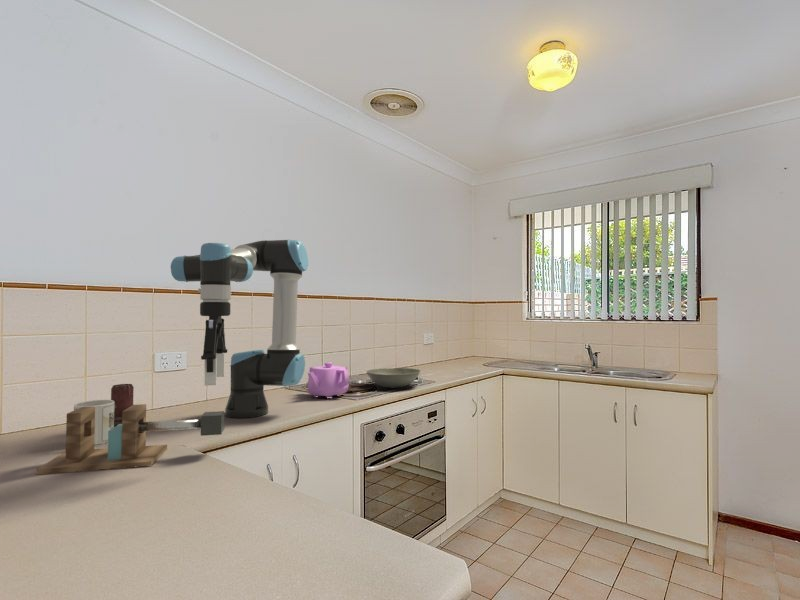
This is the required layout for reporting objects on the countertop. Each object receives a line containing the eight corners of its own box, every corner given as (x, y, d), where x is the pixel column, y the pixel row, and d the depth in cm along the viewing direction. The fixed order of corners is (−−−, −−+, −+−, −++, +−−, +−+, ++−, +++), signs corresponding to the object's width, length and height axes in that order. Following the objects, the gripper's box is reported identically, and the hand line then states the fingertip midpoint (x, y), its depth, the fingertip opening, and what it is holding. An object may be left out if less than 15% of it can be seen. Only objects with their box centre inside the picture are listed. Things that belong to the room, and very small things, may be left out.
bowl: (426, 383, 235) (426, 368, 235) (412, 393, 208) (412, 375, 208) (377, 381, 242) (377, 366, 243) (358, 390, 216) (358, 372, 216)
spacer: (131, 450, 117) (131, 423, 117) (121, 458, 110) (121, 430, 110) (118, 451, 116) (119, 424, 116) (107, 459, 109) (108, 431, 109)
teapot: (307, 401, 188) (308, 365, 188) (305, 393, 206) (305, 360, 206) (352, 399, 193) (353, 364, 193) (346, 391, 211) (347, 359, 211)
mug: (123, 438, 132) (124, 401, 132) (83, 450, 121) (84, 409, 121) (98, 435, 135) (98, 398, 136) (56, 446, 124) (57, 406, 124)
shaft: (224, 429, 121) (224, 411, 121) (221, 434, 116) (221, 415, 116) (138, 434, 116) (138, 415, 116) (131, 439, 111) (132, 419, 111)
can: (122, 431, 140) (123, 386, 140) (105, 430, 141) (106, 385, 141) (137, 426, 146) (138, 383, 146) (121, 425, 147) (122, 383, 147)
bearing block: (167, 449, 122) (167, 401, 122) (151, 466, 108) (152, 412, 109) (66, 455, 116) (67, 405, 116) (36, 474, 102) (37, 417, 103)
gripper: (208, 301, 130) (208, 374, 130) (189, 300, 106) (189, 389, 106) (236, 301, 132) (235, 373, 132) (223, 300, 108) (222, 388, 108)
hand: (215, 380), depth 119 cm, fingers open, 13 cm apart
